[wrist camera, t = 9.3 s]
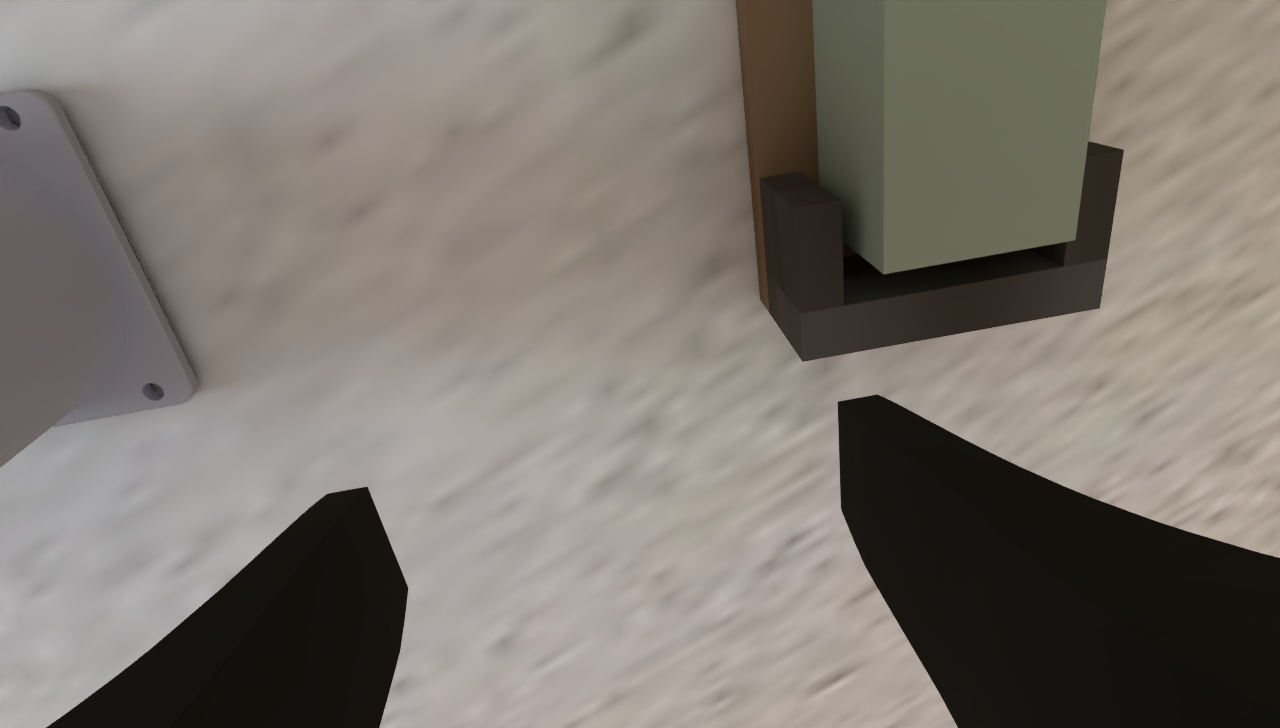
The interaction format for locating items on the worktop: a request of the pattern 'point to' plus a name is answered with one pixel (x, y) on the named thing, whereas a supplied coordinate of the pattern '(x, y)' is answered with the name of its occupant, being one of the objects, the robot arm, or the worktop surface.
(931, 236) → the stone
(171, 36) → the worktop surface
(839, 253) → the end cap cradle
